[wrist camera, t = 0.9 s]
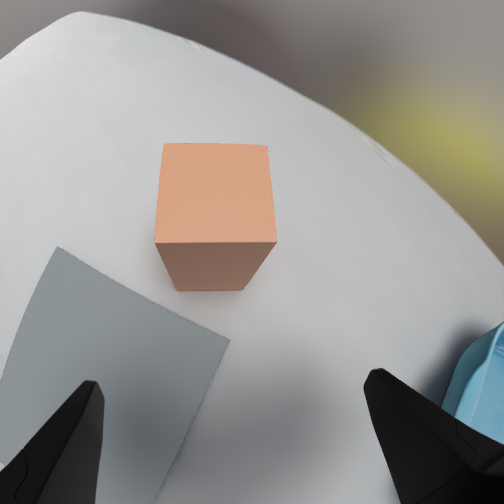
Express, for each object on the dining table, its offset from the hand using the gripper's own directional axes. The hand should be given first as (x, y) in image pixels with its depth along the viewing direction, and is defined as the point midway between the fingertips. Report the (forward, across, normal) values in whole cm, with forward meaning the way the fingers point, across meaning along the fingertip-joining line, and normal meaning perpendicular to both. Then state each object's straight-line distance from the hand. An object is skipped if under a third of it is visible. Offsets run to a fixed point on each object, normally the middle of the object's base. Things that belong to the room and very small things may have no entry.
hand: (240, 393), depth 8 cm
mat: (+6, +11, +12) cm, 18 cm away
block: (+15, +1, +3) cm, 15 cm away
